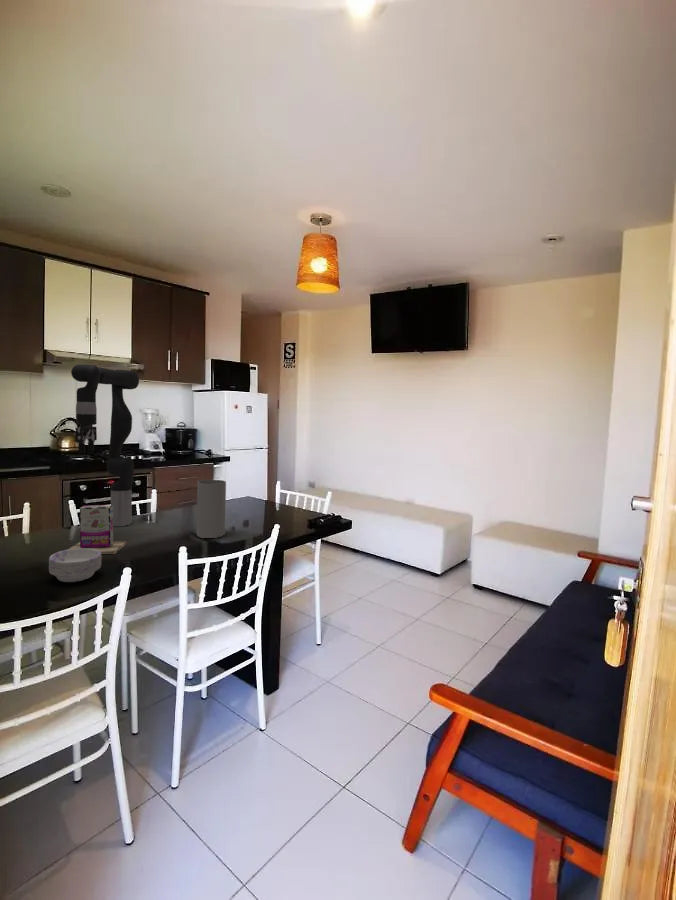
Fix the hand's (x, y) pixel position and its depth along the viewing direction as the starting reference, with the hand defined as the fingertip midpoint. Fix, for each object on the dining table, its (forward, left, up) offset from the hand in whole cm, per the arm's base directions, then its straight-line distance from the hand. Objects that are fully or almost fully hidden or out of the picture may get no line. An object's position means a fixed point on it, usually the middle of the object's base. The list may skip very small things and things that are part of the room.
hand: (86, 451), depth 188 cm
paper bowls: (+43, +15, -38) cm, 60 cm away
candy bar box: (+12, +9, -37) cm, 40 cm away
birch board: (+12, +9, -38) cm, 41 cm away
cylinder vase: (-10, +50, -38) cm, 64 cm away
